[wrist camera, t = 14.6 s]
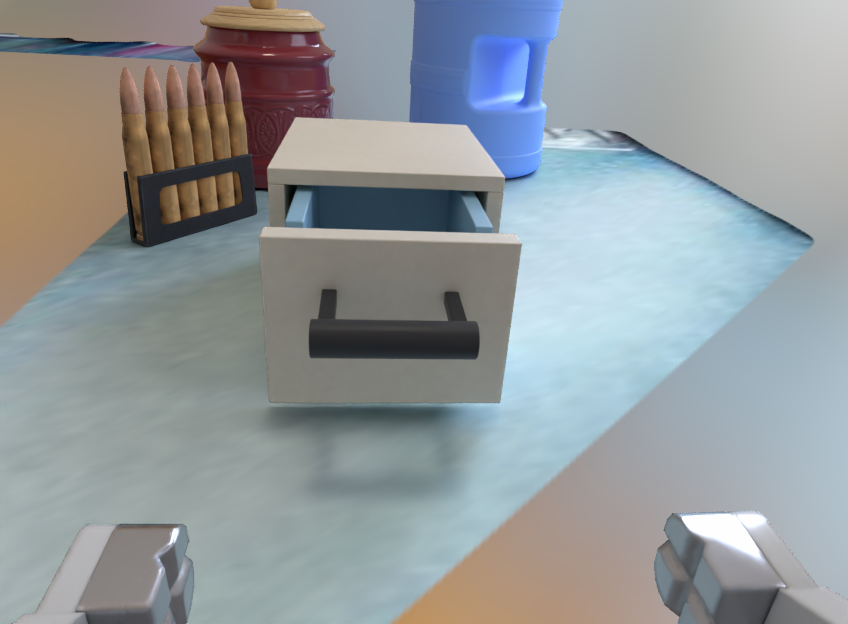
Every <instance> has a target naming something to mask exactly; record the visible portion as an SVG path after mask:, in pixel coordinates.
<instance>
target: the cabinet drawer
mask: <svg viewBox="0 0 848 624" xmlns="http://www.w3.org/2000/svg"><path fill="white" fill-rule="evenodd" d="M521 247H522V244H521V242H520V240H519V239H518V237H517V236H516V234H496V233H493V226H492V225H491V223H490V221H489V219H488V217H487V215H486V213H485V212H484V210H483V208H482V206H481V204H480V202H479V200H478V198H477V197H476V195H475V193H474V191H458V190H430V189H402V188H373V187H345V186H316V185H298V186H297V189H296V192H295V195H294V198H293V201H292V203H291V206H290V209H289V212H288V215H287V218H286V220H285V227H263V229H262V232H261V234H260V236H259V248H260V264H261V280H262V296H263V312H264V328H265V344H266V360H267V376H268V392H269V402H270V403H500V400H501V393H502V385H503V378H504V371H505V364H506V356H507V349H508V342H509V334H510V327H511V320H512V312H513V305H514V298H515V290H516V283H517V276H518V269H519V261H520V254H521Z"/></svg>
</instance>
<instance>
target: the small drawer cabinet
mask: <svg viewBox="0 0 848 624" xmlns="http://www.w3.org/2000/svg"><path fill="white" fill-rule="evenodd" d="M267 180H268V198H269V217H270V227H285V220H286V218H287V215H288V212H289V209H290V206H291V203H292V201H293V198H294V195H295V192H296V189H297V186H298V185H316V186H345V187H373V188H402V189H430V190H458V191H474V193H475V195H476V197H477V198H478V200H479V202H480V204H481V206H482V208H483V210H484V212H485V213H486V215H487V217H488V219H489V221H490V223H491V225H492V226H493V233H496V234H499V226H500V218H501V209H502V201H503V191H504V184H505V176H504V175H503V174H502V172H501V171H500V170H499V168H498V167H497V165H496V164H495V163H494V161H493V160H492V159H491V157H490V156H489V155H488V153H487V152H486V151H485V149H484V148H483V147H482V145H481V144H480V143H479V141H478V140H477V139H476V137H475V136H474V135H473V133H472V132H471V131H470V129H469V128H468V127H467V125H455V124H433V123H411V122H389V121H367V120H345V119H323V118H301V117H296V118H295V119H294V121H293V123H292V125H291V126H290V128H289V130H288V132H287V134H286V135H285V137H284V139H283V141H282V142H281V144H280V146H279V148H278V150H277V151H276V153H275V155H274V157H273V159H272V160H271V162H270V164H269V166H268V168H267Z"/></svg>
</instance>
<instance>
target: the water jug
mask: <svg viewBox="0 0 848 624" xmlns="http://www.w3.org/2000/svg"><path fill="white" fill-rule="evenodd" d="M414 1H415V11H414V33H413V56H412V61H411V69H410V84H411V100H410V120H409V122H411V123H433V124H455V125H467V127H468V128H469V129H470V131H471V132H472V133H473V135H474V136H475V137H476V139H477V140H478V141H479V143H480V144H481V145H482V147H483V148H484V149H485V151H486V152H487V153H488V155H489V156H490V157H491V159H492V160H493V161H494V163H495V164H496V165H497V167H498V168H499V170H500V171H501V172H502V174H503V175H504V176H505V178H514V177H520V176H524V175H527V174H530V173H532V172H533V171H535V170H536V169H537V168H538V167H539V165H540V162H541V156H542V139H543V132H544V125H545V118H546V110H547V107H546V105H545V104H544V103H543V102H541V93H542V86H543V78H544V71H545V64H546V56H547V49H548V45H549V43H550V41H551V40H553V39H554V38H556V36H557V32H558V23H559V17H560V11H561V10H562V5H563V0H414ZM529 49H530V52H529ZM528 57H529V60H528ZM527 65H528V68H527ZM526 73H527V76H526ZM525 81H526V84H525Z"/></svg>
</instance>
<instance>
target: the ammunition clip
mask: <svg viewBox="0 0 848 624" xmlns="http://www.w3.org/2000/svg"><path fill="white" fill-rule="evenodd" d="M166 89H167V90H166V96H167V106H168V108H167V111H168V124H167V122H166V116H165V111H164V107H163V99H162V95H161V91H160V87H159V83H158V81H157V78H156V75H155V73H154V71H153V69H152V68H151V67H150V66H148V67H147V69H146V73H145V79H144V102H145V115H146V129H145V127H144V123H143V118H142V113H141V108H140V102H139V97H138V94H137V90H136V86H135V83H134V81H133V79H132V76H131V74H130V72H129V71H128V69H127V68H123V70H122V74H121V80H120V102H121V109H122V123H123V127H122V139H123V146H124V153H125V159H126V167H127V171H125V172H124V180H125V189H126V197H127V207H128V216H129V224H130V233H131V240H132V241H134V242H136V243H139V244H142V245H144V246H147V247H149V246H152V245H156V244H159V243H162V242H166V241H169V240H172V239H175V238H179V237H182V236H185V235H189V234H192V233H195V232H199V231H202V230H205V229H208V228H212V227H215V226H218V225H222V224H225V223H228V222H231V221H235V220H238V219H241V218H245V217H248V216H251V215H254V214H256V213H257V205H256V195H255V184H254V174H253V164H252V154H250V153H248V148H247V134H246V121H245V117H244V113H243V107H242V101H241V90H240V84H239V79H238V75H237V72H236V69H235V67H234V65H233V63H232V62H229V64H228V66H227V70H226V77H225V105H224V100H223V91H222V85H221V81H220V77H219V74H218V71H217V69H216V66H215V65H214V63H210V66H209V69H208V74H207V88H206V92H207V112H206V105H205V99H204V92H203V87H202V83H201V79H200V76H199V73H198V71H197V68H196V67H195V65H194V64H191V65H190V68H189V72H188V79H187V99H188V118H187V112H186V107H185V101H184V94H183V89H182V85H181V81H180V79H179V76H178V73H177V71H176V69H175V67H174V66H173V65H170V67H169V70H168V75H167V84H166Z"/></svg>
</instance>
